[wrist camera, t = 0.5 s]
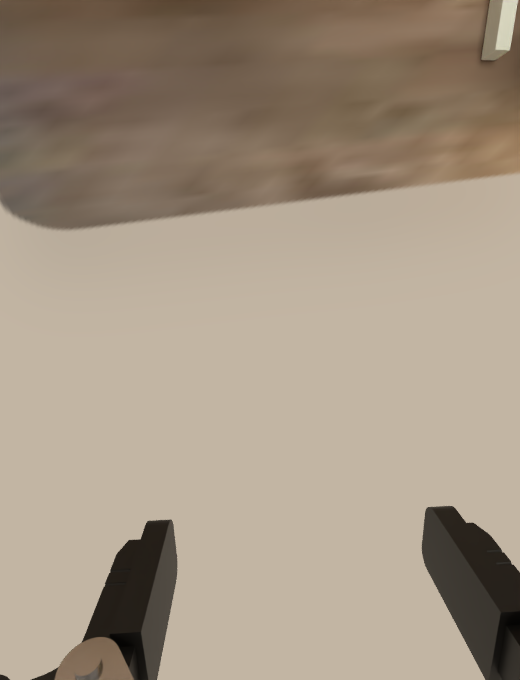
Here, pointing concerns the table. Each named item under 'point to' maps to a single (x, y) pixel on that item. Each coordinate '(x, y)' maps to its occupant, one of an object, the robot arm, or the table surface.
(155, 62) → the table surface
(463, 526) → the robot arm
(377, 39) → the table surface
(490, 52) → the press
